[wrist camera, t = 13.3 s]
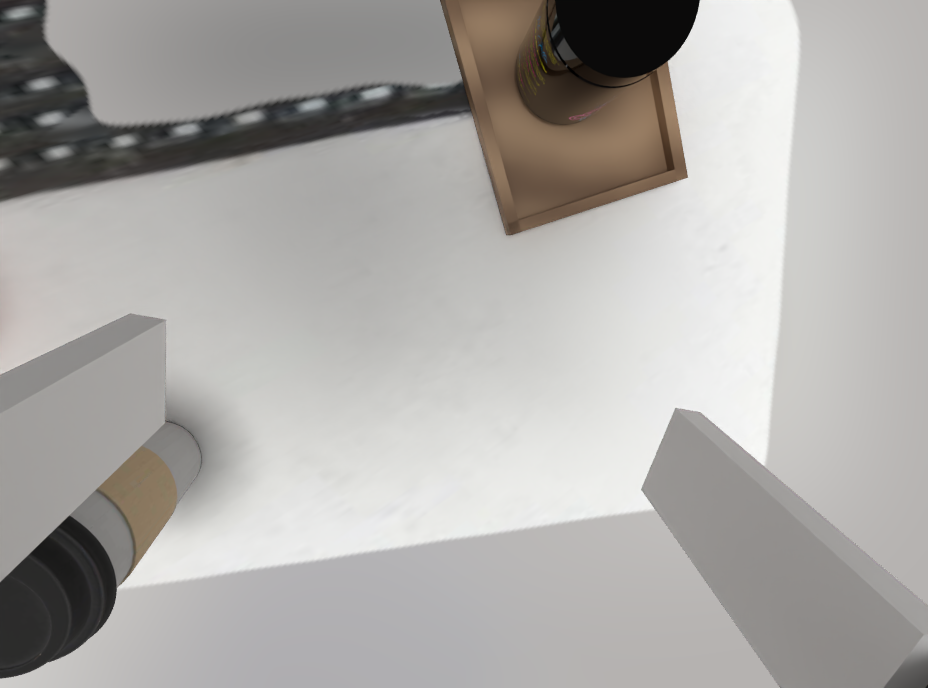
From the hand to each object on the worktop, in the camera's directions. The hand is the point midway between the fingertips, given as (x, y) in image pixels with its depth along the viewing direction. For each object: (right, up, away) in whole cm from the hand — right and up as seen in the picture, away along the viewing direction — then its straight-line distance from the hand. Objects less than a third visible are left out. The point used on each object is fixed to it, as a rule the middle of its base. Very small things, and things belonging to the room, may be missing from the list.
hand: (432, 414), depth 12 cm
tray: (+7, +20, +19) cm, 29 cm away
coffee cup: (-23, -7, +24) cm, 34 cm away
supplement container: (+7, +20, +19) cm, 28 cm away
